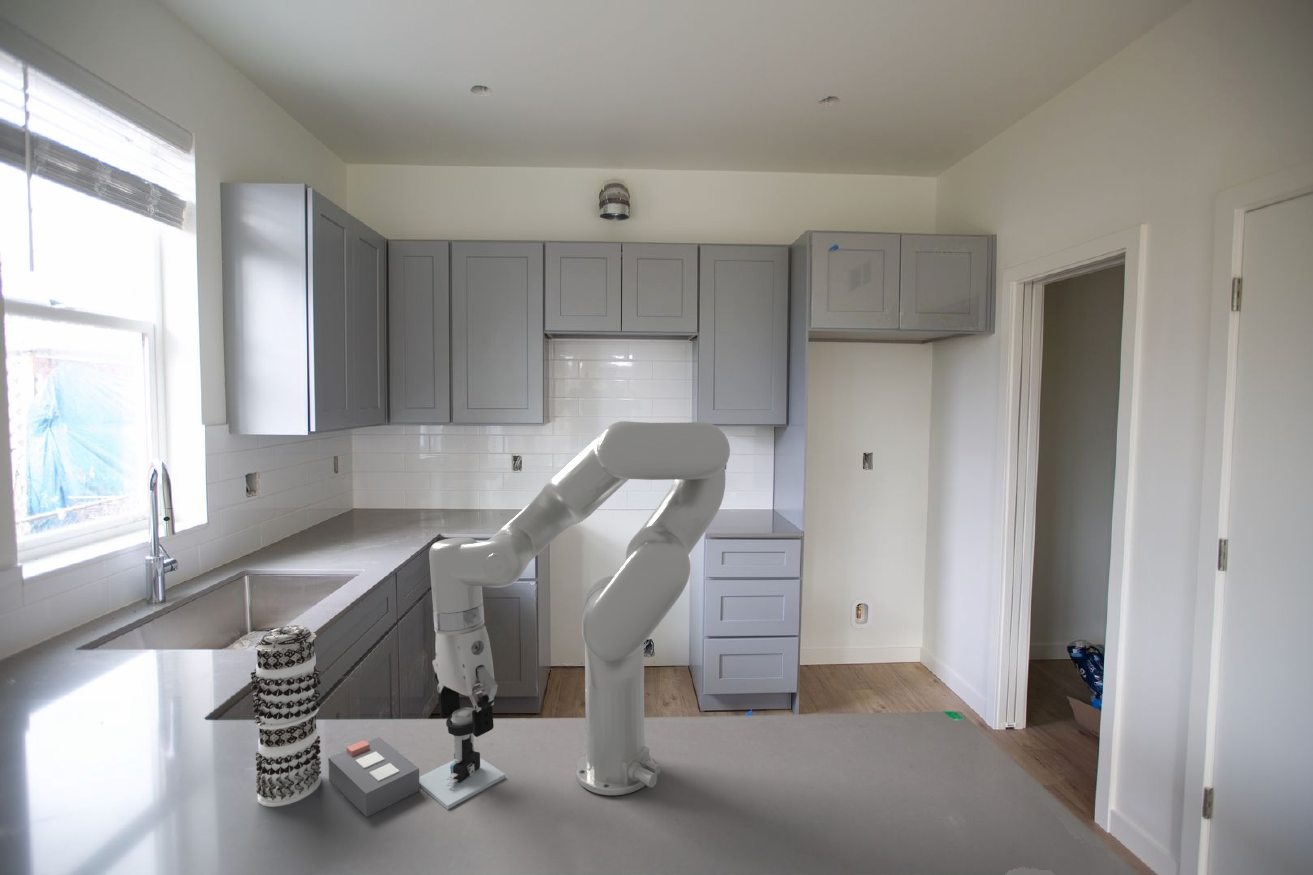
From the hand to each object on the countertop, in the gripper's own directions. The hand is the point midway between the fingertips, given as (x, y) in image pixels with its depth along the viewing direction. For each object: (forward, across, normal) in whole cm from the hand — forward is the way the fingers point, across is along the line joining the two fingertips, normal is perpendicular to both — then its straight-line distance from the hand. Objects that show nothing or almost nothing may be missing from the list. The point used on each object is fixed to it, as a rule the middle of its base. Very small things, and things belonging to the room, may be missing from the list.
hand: (466, 723), depth 93 cm
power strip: (+8, +11, +11) cm, 17 cm away
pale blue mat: (+9, +1, +1) cm, 9 cm away
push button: (+9, +1, +1) cm, 9 cm away
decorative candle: (+8, +20, +20) cm, 29 cm away
